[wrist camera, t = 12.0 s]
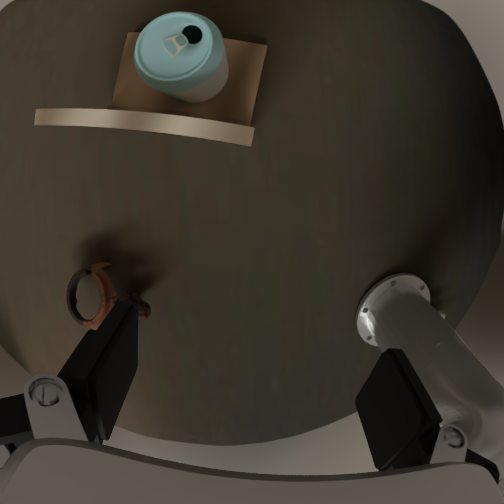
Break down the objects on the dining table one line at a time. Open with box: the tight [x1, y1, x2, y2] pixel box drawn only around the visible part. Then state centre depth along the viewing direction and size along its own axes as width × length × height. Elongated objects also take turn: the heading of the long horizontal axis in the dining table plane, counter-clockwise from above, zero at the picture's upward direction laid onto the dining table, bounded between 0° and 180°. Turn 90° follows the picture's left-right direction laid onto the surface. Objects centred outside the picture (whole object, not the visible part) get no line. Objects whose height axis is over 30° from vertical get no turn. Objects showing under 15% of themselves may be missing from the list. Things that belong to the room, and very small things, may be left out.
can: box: [134, 12, 229, 103], centre depth 23 cm, size 7×7×12 cm
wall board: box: [34, 32, 267, 146], centre depth 23 cm, size 16×11×16 cm
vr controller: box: [67, 262, 151, 330], centre depth 37 cm, size 12×10×8 cm
